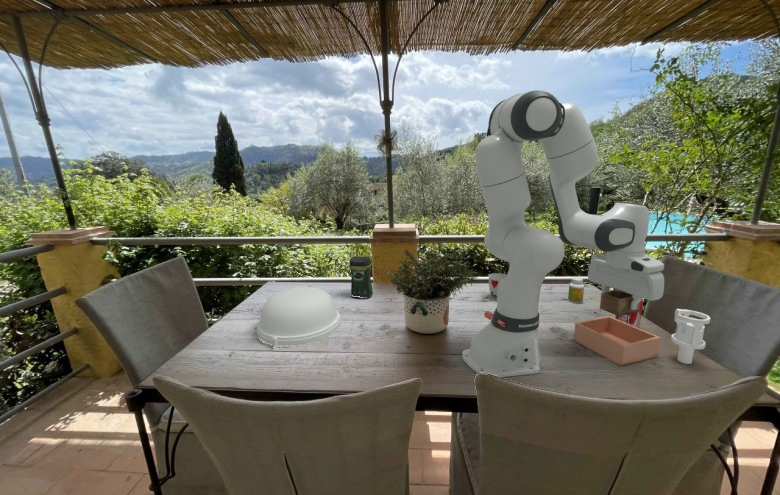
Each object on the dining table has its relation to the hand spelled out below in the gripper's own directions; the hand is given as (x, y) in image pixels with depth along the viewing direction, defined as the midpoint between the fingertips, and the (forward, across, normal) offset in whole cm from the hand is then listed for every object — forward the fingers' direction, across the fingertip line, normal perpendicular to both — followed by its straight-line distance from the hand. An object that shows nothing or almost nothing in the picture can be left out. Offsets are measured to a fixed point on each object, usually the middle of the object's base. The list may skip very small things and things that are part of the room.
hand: (619, 304), depth 97 cm
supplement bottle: (+14, -33, +20) cm, 41 cm away
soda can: (+14, -9, +17) cm, 24 cm away
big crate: (+14, 0, 0) cm, 14 cm away
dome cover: (+14, -52, -90) cm, 104 cm away
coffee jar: (+14, -74, -61) cm, 97 cm away
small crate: (+2, 0, 0) cm, 2 cm away
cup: (+14, -48, -7) cm, 51 cm away
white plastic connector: (+14, +12, +11) cm, 22 cm away
